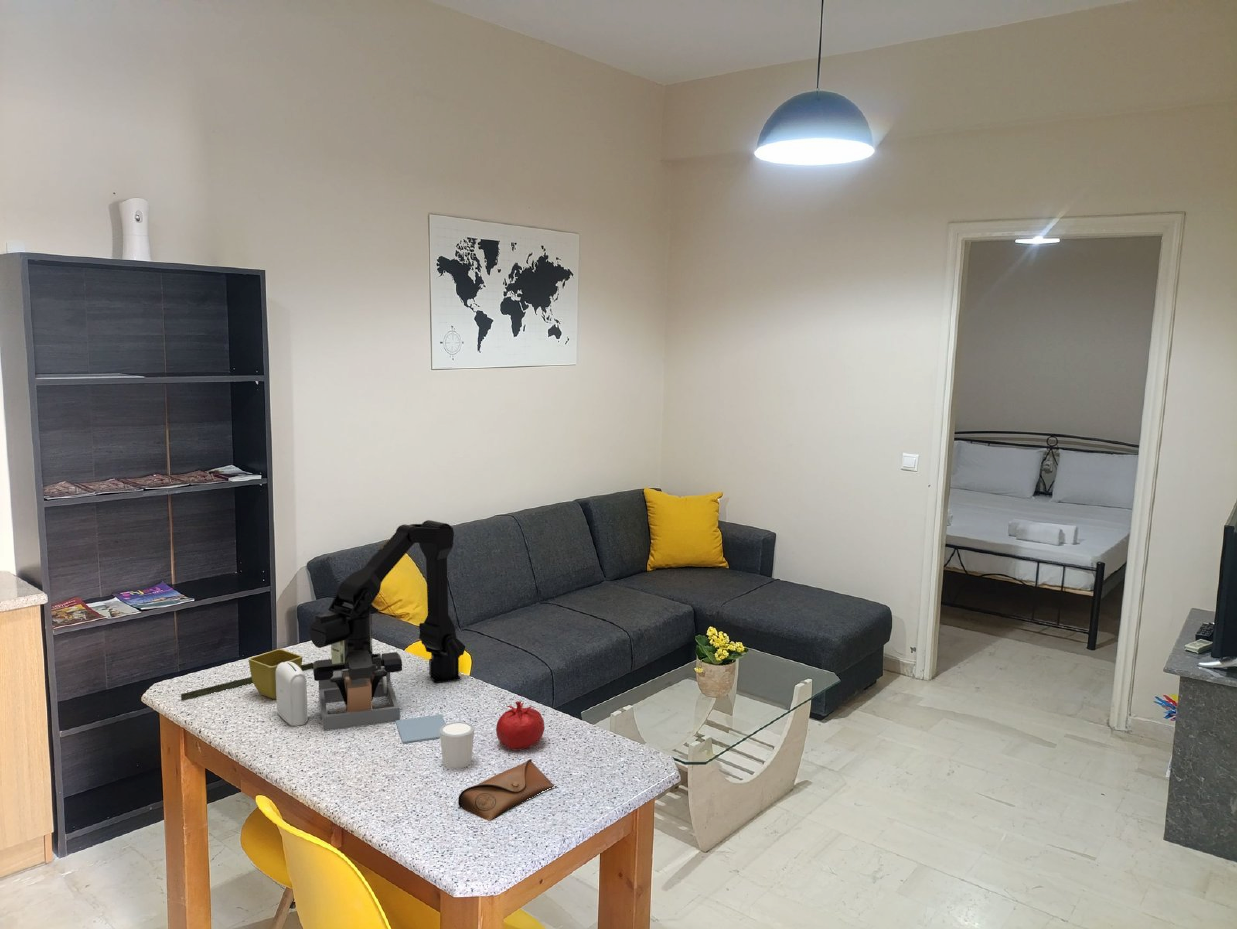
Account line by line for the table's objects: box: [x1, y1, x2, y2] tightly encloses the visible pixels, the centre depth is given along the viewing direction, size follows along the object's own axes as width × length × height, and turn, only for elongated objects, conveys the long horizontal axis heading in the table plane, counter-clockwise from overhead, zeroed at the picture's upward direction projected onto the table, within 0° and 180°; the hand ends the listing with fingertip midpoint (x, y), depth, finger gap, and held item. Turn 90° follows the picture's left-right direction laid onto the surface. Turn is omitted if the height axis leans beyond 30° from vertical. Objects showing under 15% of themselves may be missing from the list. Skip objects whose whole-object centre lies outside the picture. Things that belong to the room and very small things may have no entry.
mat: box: [395, 713, 447, 744], centre depth 190 cm, size 10×11×1 cm
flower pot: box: [248, 648, 303, 700], centre depth 206 cm, size 9×9×9 cm
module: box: [345, 677, 373, 713], centre depth 198 cm, size 5×7×7 cm
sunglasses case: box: [457, 758, 555, 822], centre depth 163 cm, size 18×7×7 cm, turn 140°
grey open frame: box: [318, 671, 401, 732], centre depth 198 cm, size 16×17×8 cm
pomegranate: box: [495, 701, 545, 751], centre depth 184 cm, size 10×10×9 cm
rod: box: [180, 662, 314, 702], centre depth 213 cm, size 31×1×2 cm, turn 133°
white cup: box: [439, 721, 475, 769], centre depth 175 cm, size 7×7×7 cm
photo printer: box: [276, 661, 309, 727], centre depth 193 cm, size 10×4×12 cm, turn 39°
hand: (358, 702), depth 198 cm, fingers closed on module, 5 cm apart
